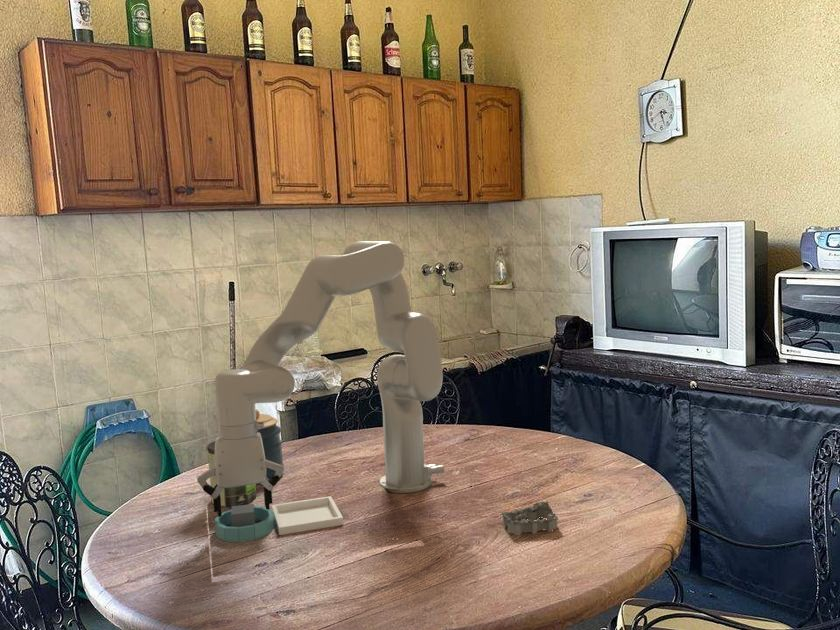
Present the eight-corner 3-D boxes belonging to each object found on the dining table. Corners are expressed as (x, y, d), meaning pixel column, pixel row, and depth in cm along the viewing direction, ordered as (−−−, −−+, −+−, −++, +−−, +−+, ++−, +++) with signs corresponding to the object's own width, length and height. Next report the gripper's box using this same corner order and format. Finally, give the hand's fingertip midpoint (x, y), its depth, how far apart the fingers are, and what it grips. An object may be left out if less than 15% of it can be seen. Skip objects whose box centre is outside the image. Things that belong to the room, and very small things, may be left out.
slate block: (255, 524, 153) (253, 503, 153) (255, 532, 149) (253, 511, 149) (233, 527, 152) (231, 506, 152) (232, 535, 148) (231, 514, 148)
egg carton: (550, 519, 152) (550, 500, 152) (560, 533, 145) (560, 514, 145) (500, 522, 151) (499, 503, 151) (508, 537, 144) (507, 517, 144)
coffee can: (264, 495, 172) (260, 437, 171) (245, 511, 162) (241, 450, 161) (224, 493, 174) (220, 436, 173) (203, 510, 164) (198, 449, 163)
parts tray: (331, 505, 164) (330, 496, 163) (343, 528, 151) (343, 517, 151) (272, 515, 160) (271, 504, 159) (279, 538, 147) (279, 527, 147)
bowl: (270, 518, 158) (269, 503, 157) (276, 539, 147) (275, 522, 146) (215, 527, 154) (214, 511, 154) (217, 549, 143) (216, 532, 143)
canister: (259, 488, 177) (254, 418, 175) (221, 480, 183) (216, 412, 181) (294, 472, 188) (290, 405, 185) (258, 465, 194) (253, 401, 192)
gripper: (278, 421, 154) (283, 498, 156) (193, 430, 149) (199, 510, 151) (283, 429, 147) (288, 511, 149) (193, 440, 142) (200, 524, 144)
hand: (243, 510), depth 150 cm, fingers open, 9 cm apart
